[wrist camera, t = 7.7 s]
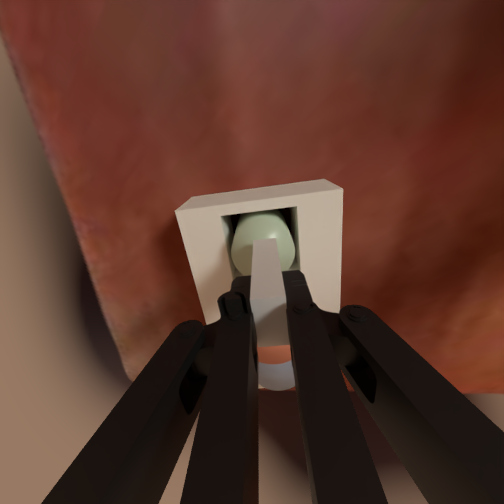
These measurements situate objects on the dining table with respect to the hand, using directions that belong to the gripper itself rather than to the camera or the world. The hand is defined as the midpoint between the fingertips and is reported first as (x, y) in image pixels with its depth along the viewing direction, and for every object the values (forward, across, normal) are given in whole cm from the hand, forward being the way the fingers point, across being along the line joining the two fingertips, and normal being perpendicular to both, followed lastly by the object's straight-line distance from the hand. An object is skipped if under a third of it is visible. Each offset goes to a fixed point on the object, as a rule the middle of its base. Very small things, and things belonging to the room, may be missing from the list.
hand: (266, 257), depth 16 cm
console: (+7, 0, -6) cm, 10 cm away
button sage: (+7, 0, 0) cm, 7 cm away
